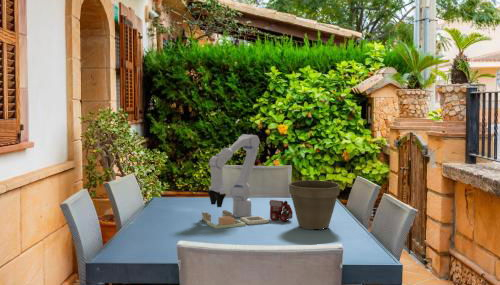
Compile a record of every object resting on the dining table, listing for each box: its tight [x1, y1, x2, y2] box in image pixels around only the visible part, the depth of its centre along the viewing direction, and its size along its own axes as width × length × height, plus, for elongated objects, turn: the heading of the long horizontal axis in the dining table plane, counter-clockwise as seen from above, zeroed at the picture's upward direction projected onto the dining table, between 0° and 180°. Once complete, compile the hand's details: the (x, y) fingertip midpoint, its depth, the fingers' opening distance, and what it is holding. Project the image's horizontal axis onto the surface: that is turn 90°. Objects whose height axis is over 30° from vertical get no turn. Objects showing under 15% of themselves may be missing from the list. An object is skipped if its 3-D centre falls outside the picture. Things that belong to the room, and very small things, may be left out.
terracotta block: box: [218, 216, 236, 225], centre depth 275 cm, size 6×6×4 cm
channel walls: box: [201, 209, 233, 223], centre depth 286 cm, size 13×8×4 cm, turn 117°
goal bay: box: [206, 218, 247, 230], centre depth 276 cm, size 16×11×1 cm
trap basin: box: [239, 215, 269, 226], centre depth 284 cm, size 11×10×2 cm
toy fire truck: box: [269, 199, 294, 223], centre depth 289 cm, size 7×12×10 cm, turn 68°
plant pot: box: [288, 179, 341, 230], centre depth 274 cm, size 25×25×22 cm
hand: (216, 205), depth 286 cm, fingers open, 7 cm apart
